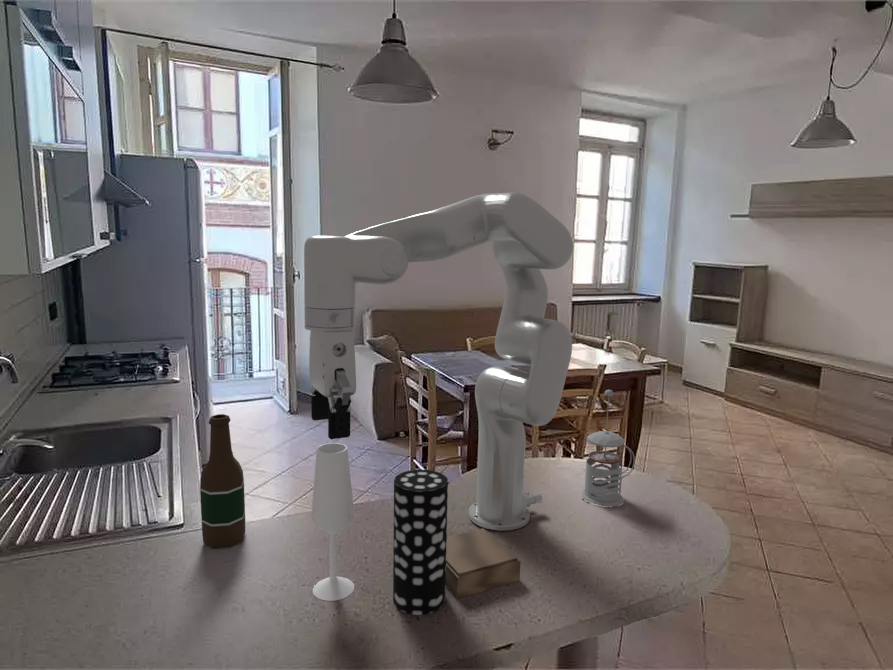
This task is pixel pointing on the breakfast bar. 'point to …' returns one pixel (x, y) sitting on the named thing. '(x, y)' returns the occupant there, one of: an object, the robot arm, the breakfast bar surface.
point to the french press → (601, 489)
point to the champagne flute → (332, 512)
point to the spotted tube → (420, 541)
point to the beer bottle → (222, 490)
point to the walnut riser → (478, 563)
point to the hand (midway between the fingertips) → (330, 427)
